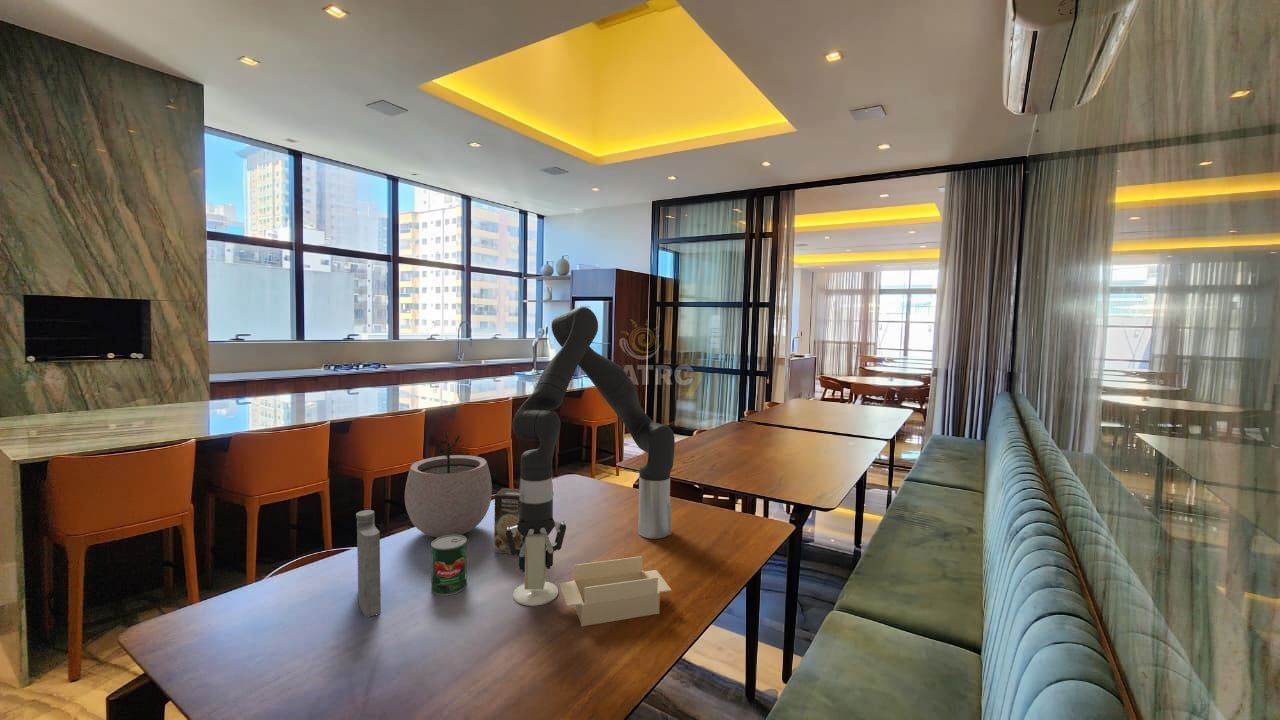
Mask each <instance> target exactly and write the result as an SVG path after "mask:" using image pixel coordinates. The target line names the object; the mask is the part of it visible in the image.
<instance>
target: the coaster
mask: <svg viewBox="0 0 1280 720" xmlns="http://www.w3.org/2000/svg"><path fill="white" fill-rule="evenodd" d="M558 595H559V589H558V586H557V585H555V584H554V583H552V582H550V581H545V584H544V588H543V589H529V590H525V583H522V584H521V585H519V586H517V587H515V589H514V591H513V600H514V601H515V602H516V603H518V604H519V605H523V606H525V607H526V606H527V607H528V606H529V607H537V606H542V605H546V604H549V603H551V602H553V601H554V600H556V599H557V597H558Z"/></svg>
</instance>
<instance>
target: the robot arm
mask: <svg viewBox="0 0 1280 720" xmlns="http://www.w3.org/2000/svg"><path fill="white" fill-rule="evenodd" d="M598 331H599V322H598V317H597V316H596V314H595V312H593V310H592V309H590V308H588V307H586V306H585V307H584V306H582V307H576V308H573V309H570V310H569V311H566V312H564V313H561V314H559V315H558V316H555V317H554V318H553V320H552V322H551V332H552V334H553V337H554V338H555V340H556V342H557V343H558V344H559V347H561V348H560V350H558V352H557V353H556V354H555V355H554V356H553V358H552V359H551V360H550V361H549V363H547V364H546V366H545V368H544V369H543V371H542V373H541V374H540V377H539V379H538V381H537V384H536V386H535V388H534V391H533V392H532V393H531V394H530V395H529V396H528V397H527V399H526V400H525V401H524V402H523V403H522V404H521V406H519V408H518V410H517V411H516V413H515V414H514V417H513V419H512V426H511V427H512V432H513V434H514V435H515V437H516V438H518V439H520V440H524V441H535V442H536V441H537V442H539V447H538V448H536V449H534V448H533V449H529V450H526V451H524V452H522V454H521V456H520V482H519V488H518V489H519V522H518V523H517V525H516V526H513V527H509V526H508V527H506V528H505V531H506V536H507V540H508V543H509V547H510V551H511V555H512V556H518V569H519V570H520V571H521V572H522V573H525V538H526V537H527V536H533V534H541V535H545V536H546V537H545V545H546V570H550V569H551V567H553V566H554V553H555V552H556V551H561V549H562V545H563V542H564V539H565V534H566V530H567V525H566V523H565V521H564V520H560V521H555V519H554V517H553V516H554V513H553V512H554V508H553V507H554V483H553V456H554V453H555V448H556V444H557V440H558V438H559V435H560V431H561V424H562V423H561V420H560V416H559V414H558V413H557V412H556V411H554V410H556V409H558V408H559V407H561V405H562V403H563V401H564V398H565V395H566V394H567V390H568V388H569V385H570V382H571V381H572V377H573V376H574V374H575V372H576V370H577V368H578V367H580V369H581V370H582V371H583V372H584V373H585V375H586V376H587V377H588V379H589V380H590V381H591V382H592V384H593V385H594V387H595V388H596V389H597V391H598V393H599V394H600V395H601V396H602V398H603V400H604V401H605V402H606V403H607V404H608V406H610V408H611V409H612V410H613V411H614V413H615V414H616V415H617V416H618V418H619V419H620V420H621V421H622V423H623V425H624V426H625V427H626V429H627V430H628V432H629V434H630V435H631V436H630V437H631V438H632V439H633V441H634V443H635V444H636V446H637V447H638V448H639V450H642V451H643V452H646V453H648V454H647V463H645V464H642V465H641V466H640V467H639V472H638V473H639V474H638V475H639V476H638V478H639V479H638V523H637V525H638V528H637V531H638V535H639V536H641V537H643V538H646V539H649V540H651V539H652V540H653V539H654V540H658V539H663V538H666V537H668V536H671V535H672V528H673V527H672V522H673V521H672V520H673V504H672V502H671V500H670V499H671V497H670V496H671V494H670V493H671V473H672V470H673V467H674V459H675V444H676V443H675V439H676V438H675V434H674V431H673V429H672V428H671V427H670V426H668V425H666V424H662V423H658V422H655V421H654V420H652V419H651V418H650V417H649V416H648V414H647V413H646V412H645V411H644V409H643V407H642V406H641V403H640V401H639V395H638V390H637V388H636V386H635V384H634V383H633V381H632V380H631V378H630V377H629V375H628V373H627V372H626V371H625V370H624V369H623V368H622V366H620V365H619V364H617V363H616V362H614V361H613V360H611V359H608V358H606V357H605V356H603V355H601V354H600V353H598V352H596V351H595V350H594V349H593V348H592V347H591V344H592V343H593V341H594V339H595V337H596V336H597V334H598ZM554 528H555V532H556V536H555V540H554V542H553V543H552V542H551V540H550V538H549V535H550V534H551V533H552V531H553V529H554ZM516 531H519V532H520V533H521V535H522V536H523V537H522V540H521V544H520V547H519V548H518V547H515V543H514V539H513V537H515V536H516Z"/></svg>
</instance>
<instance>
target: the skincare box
mask: <svg viewBox="0 0 1280 720" xmlns="http://www.w3.org/2000/svg"><path fill="white" fill-rule="evenodd" d="M545 537H546V536H545V535H541V534H533V536H527V537H526V538H525V572H524V584H525V590H529V589H543V588H544V584H545V582H546V577H547V568H546V550H547V547H546V545H545Z"/></svg>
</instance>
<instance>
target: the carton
mask: <svg viewBox="0 0 1280 720" xmlns="http://www.w3.org/2000/svg"><path fill="white" fill-rule="evenodd" d="M573 574H574V575H573V579H572V580H571V581H565V582H559V583H558V585H559V588H560V591H561V594H562V597H563V600H564V602H565V605H566V608H568V607H569V608H570V607H574V609H575V611H576V614H577V617H578V620H579V622H580V625H581V627H586V626H592V625H598V624H605V623H610V622H615V621H622V620H627V619H634V618H641V617H647V616H652V615H653V616H654V615H660V603H661V602H660V599H661V593H667V592H672V589H671V587H670V585H668V583H667V582H666V581H665V579H664V577H663V576H662V575H661V574H660V573H659V571H658V570H657V569H653V570H643V556H641V555H640V556H634V557H626V558H619V559H609V560H603V561H602V560H601V561H593V562H586V563H578V564H574V573H573Z"/></svg>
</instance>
